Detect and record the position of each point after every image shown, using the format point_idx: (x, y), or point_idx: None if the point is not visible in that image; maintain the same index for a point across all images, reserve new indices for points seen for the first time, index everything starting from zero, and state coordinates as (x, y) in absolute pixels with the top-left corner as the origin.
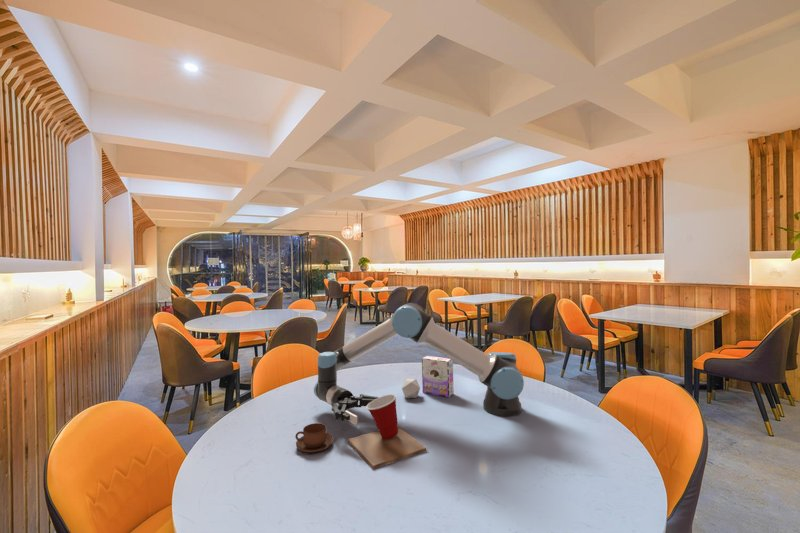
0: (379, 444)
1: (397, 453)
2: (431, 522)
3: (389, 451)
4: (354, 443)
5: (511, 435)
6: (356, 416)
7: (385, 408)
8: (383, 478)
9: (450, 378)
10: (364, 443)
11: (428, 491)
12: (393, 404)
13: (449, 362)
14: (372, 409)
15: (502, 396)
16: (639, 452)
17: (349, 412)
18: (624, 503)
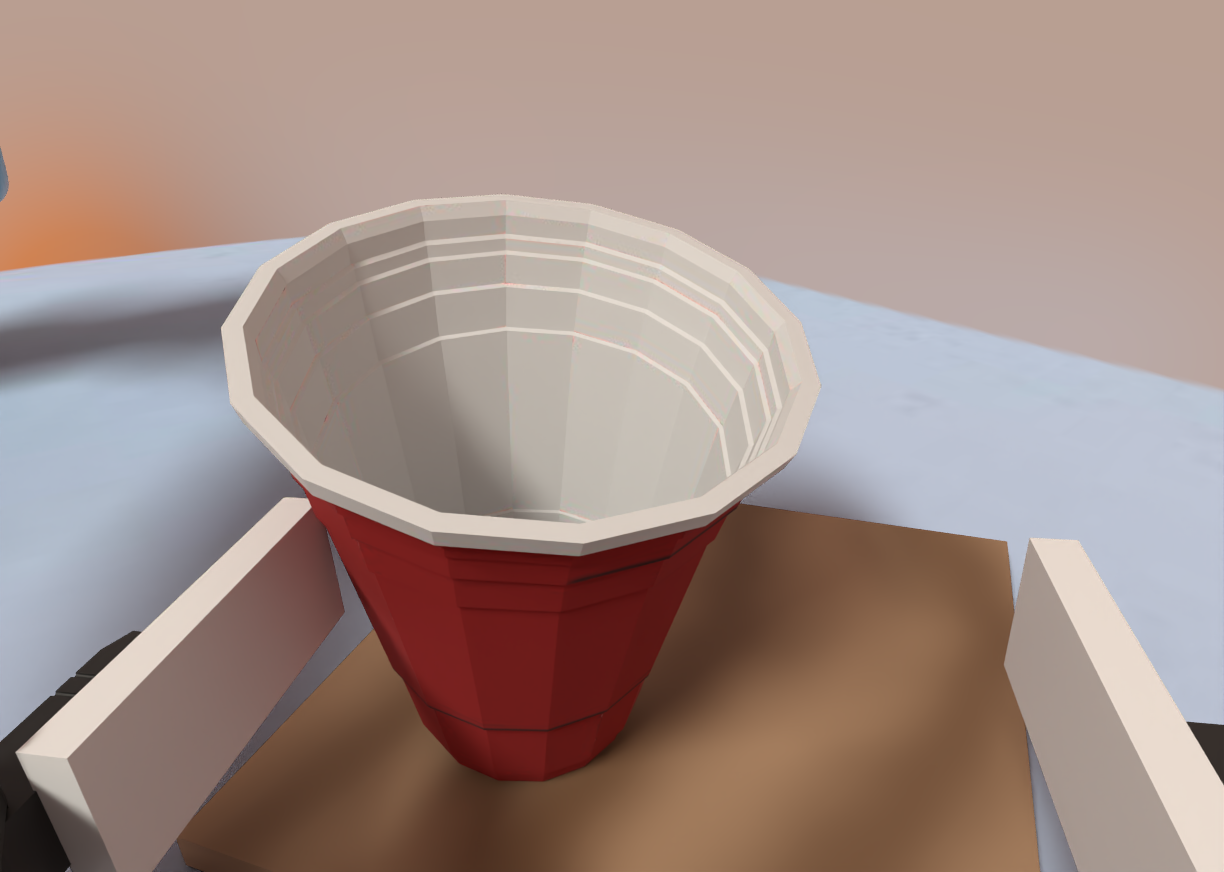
0: (743, 685)
1: (731, 530)
2: (953, 332)
3: (760, 571)
4: None
5: (136, 371)
6: (1051, 539)
7: (660, 288)
8: (985, 491)
9: None
10: (873, 817)
11: (838, 377)
12: (519, 269)
13: None
14: (800, 344)
15: (7, 179)
16: (191, 249)
17: (1148, 731)
18: None
